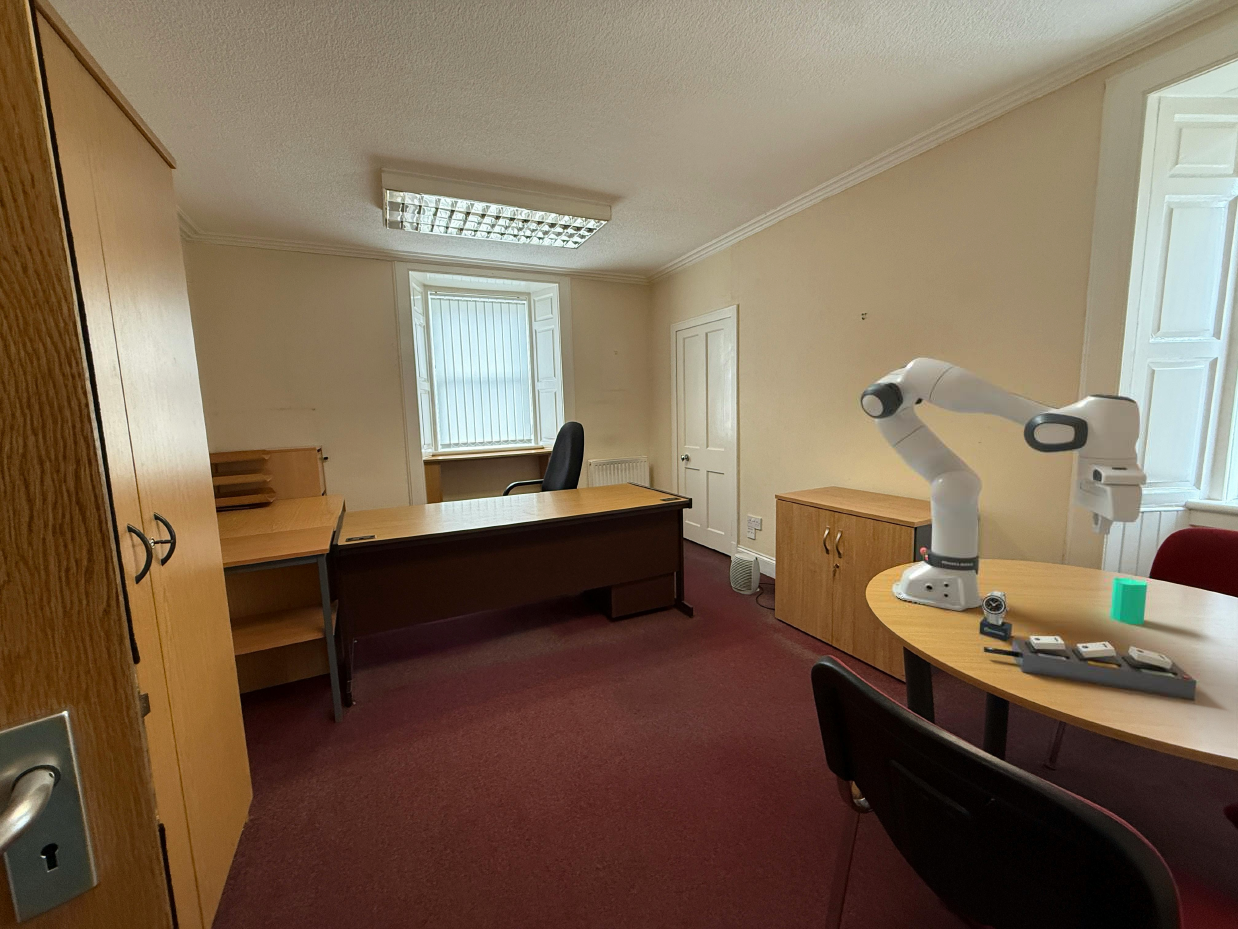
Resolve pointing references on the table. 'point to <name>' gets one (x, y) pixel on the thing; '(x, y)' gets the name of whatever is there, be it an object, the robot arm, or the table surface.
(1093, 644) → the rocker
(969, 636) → the table surface
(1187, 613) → the table surface
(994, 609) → the watch
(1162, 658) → the rocker
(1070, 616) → the table surface
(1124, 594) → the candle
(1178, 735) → the table surface
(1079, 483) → the robot arm
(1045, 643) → the plate
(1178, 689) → the strip
